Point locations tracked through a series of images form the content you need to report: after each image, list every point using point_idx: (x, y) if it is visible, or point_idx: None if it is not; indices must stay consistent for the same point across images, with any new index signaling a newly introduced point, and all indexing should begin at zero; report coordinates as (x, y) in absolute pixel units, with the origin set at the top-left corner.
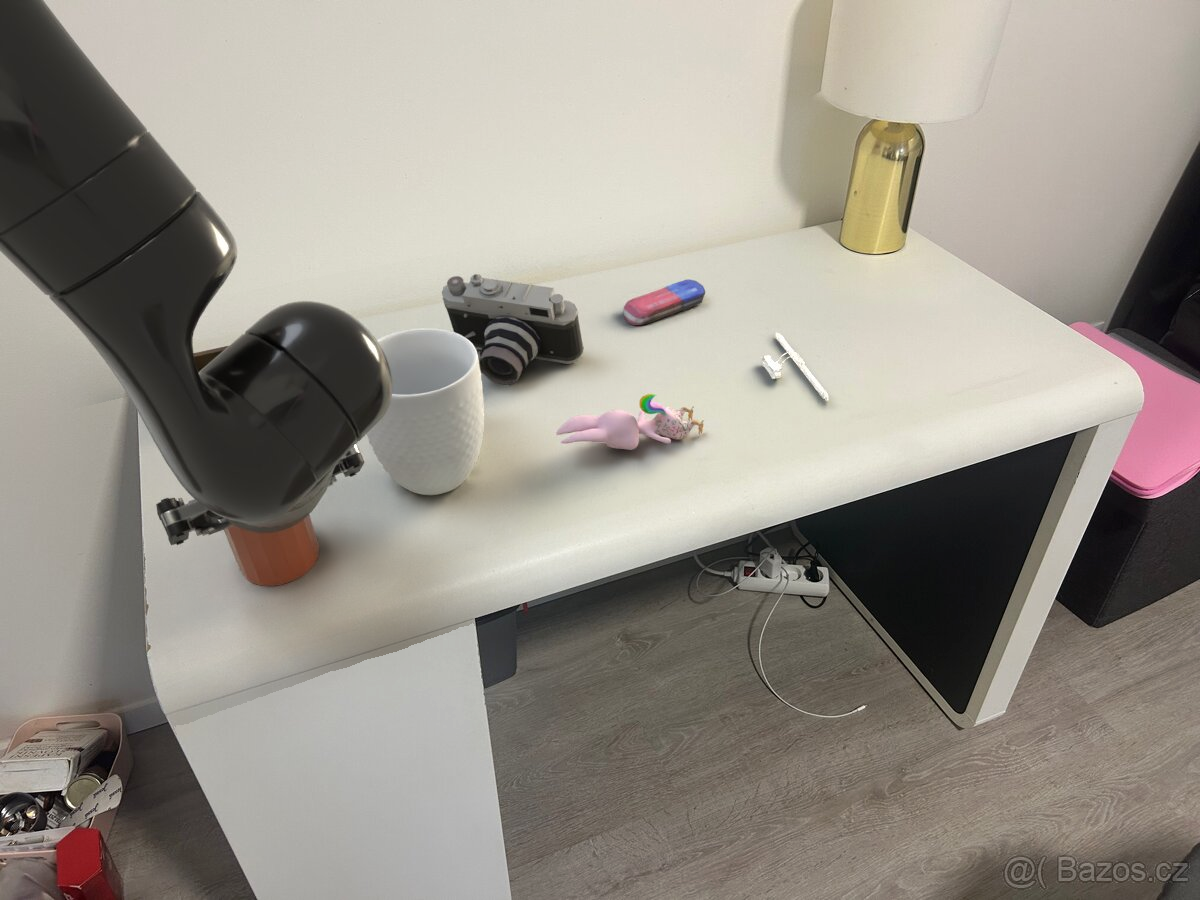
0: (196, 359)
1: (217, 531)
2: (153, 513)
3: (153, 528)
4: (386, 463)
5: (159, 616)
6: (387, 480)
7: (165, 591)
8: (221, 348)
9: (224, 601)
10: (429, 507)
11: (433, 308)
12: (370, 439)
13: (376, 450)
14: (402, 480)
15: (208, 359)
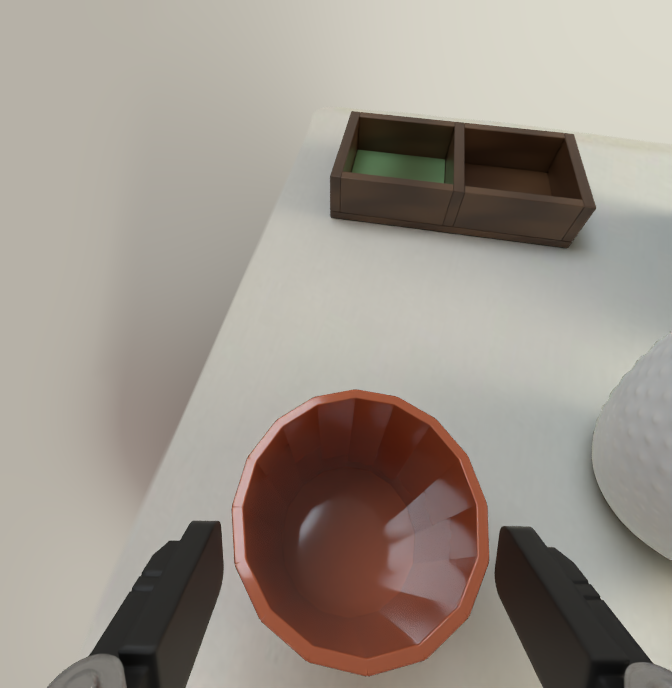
0: (365, 122)
1: (216, 600)
2: (225, 322)
3: (212, 349)
4: (647, 502)
5: (126, 554)
6: (566, 449)
7: (162, 495)
8: (398, 117)
9: (225, 592)
10: (646, 578)
11: (661, 159)
12: (657, 447)
13: (648, 471)
14: (643, 530)
15: (378, 127)
